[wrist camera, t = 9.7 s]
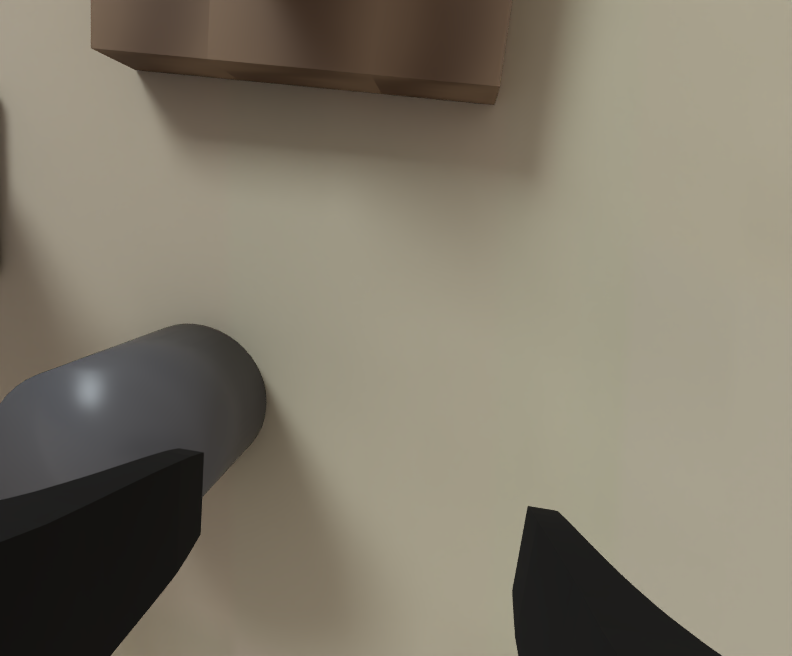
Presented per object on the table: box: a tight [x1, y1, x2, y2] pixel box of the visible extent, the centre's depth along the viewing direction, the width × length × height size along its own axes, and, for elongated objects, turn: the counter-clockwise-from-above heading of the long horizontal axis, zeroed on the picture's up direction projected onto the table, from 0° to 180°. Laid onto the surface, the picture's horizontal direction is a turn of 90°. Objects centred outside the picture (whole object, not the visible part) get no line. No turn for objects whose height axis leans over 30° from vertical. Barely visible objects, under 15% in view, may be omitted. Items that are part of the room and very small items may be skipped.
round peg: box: [0, 324, 266, 500], centre depth 19 cm, size 6×6×7 cm
